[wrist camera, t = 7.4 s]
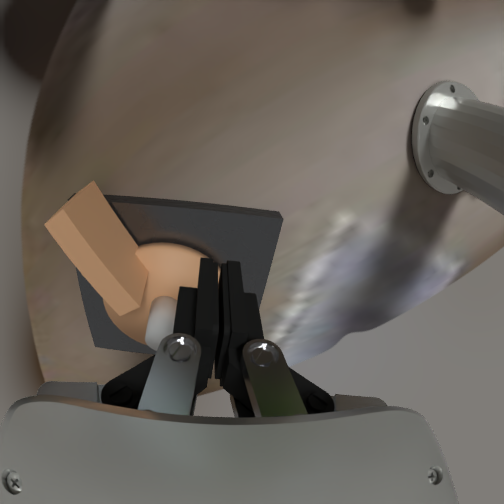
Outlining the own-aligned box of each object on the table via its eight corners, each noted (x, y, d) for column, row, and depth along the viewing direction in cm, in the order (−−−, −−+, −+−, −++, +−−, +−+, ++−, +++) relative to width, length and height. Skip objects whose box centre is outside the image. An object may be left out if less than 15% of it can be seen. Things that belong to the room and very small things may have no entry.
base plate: (279, 211, 24) (297, 243, 19) (243, 349, 33) (249, 386, 28) (74, 193, 20) (45, 220, 15) (97, 337, 29) (87, 373, 24)
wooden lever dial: (146, 145, 18) (125, 163, 13) (251, 315, 28) (261, 359, 23) (40, 223, 19) (9, 257, 14) (155, 353, 29) (151, 393, 24)
